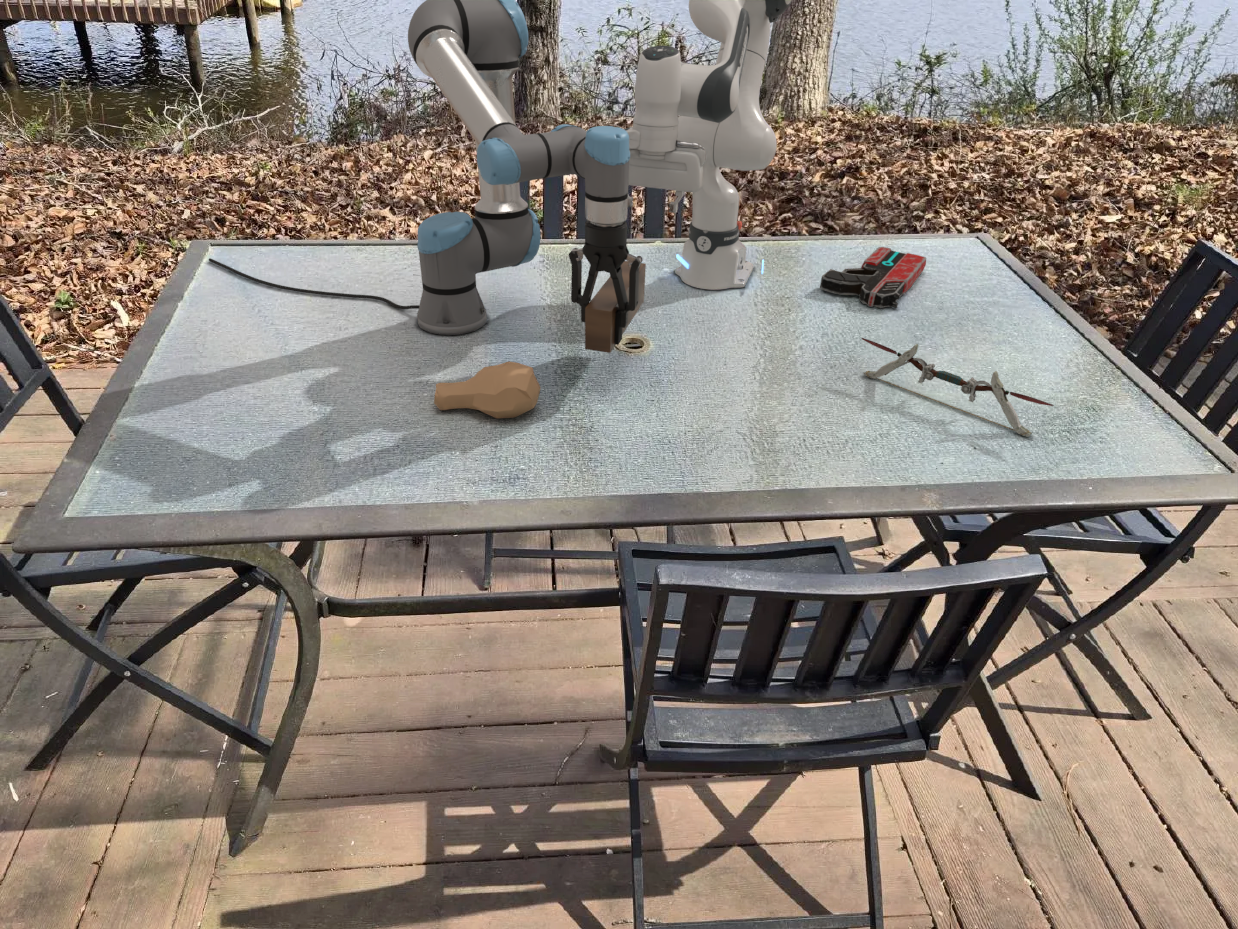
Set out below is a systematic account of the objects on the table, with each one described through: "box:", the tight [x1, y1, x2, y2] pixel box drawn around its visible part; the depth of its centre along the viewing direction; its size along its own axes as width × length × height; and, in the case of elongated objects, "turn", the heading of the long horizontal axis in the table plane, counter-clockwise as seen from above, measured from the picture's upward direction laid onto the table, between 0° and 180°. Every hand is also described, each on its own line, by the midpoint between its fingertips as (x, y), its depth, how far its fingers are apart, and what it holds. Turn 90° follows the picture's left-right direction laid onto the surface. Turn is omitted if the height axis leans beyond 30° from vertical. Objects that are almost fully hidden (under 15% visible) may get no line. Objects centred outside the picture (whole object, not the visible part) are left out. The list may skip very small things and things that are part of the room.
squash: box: [433, 360, 542, 419], centre depth 163 cm, size 11×20×9 cm, turn 90°
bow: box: [861, 337, 1055, 437], centre depth 168 cm, size 39×2×10 cm, turn 47°
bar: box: [584, 260, 647, 354], centre depth 173 cm, size 25×5×8 cm, turn 164°
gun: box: [819, 246, 927, 309], centre depth 221 cm, size 4×31×19 cm
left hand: (604, 339), depth 168 cm, fingers closed on bar, 5 cm apart
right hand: (650, 209), depth 179 cm, fingers open, 8 cm apart
